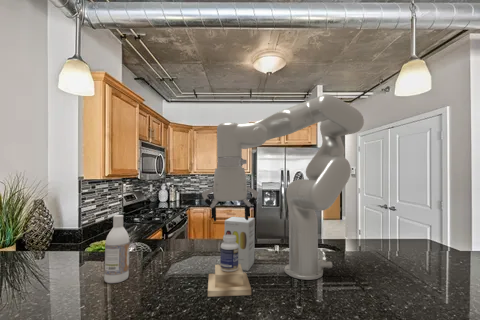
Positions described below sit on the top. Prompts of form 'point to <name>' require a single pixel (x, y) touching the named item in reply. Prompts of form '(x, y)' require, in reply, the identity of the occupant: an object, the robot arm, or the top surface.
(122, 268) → the bath foam
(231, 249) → the pill bottle
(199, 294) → the top surface
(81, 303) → the top surface
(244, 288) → the plinth
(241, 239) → the supplement box
